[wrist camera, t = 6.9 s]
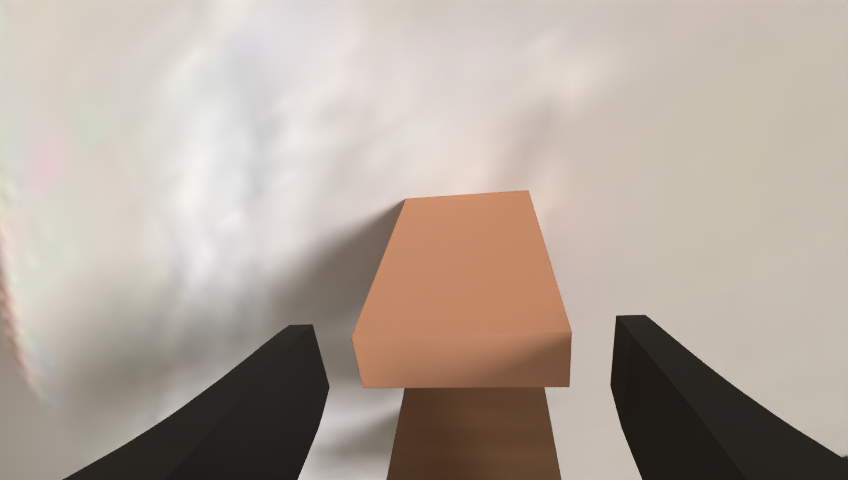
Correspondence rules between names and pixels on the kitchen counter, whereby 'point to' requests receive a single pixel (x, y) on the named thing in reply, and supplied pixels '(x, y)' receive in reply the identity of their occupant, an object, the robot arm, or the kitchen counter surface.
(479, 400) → the domino
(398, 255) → the end domino
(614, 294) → the kitchen counter surface
